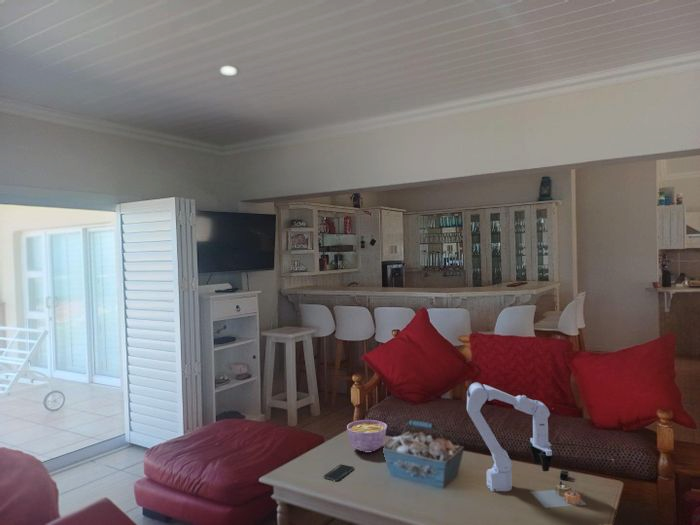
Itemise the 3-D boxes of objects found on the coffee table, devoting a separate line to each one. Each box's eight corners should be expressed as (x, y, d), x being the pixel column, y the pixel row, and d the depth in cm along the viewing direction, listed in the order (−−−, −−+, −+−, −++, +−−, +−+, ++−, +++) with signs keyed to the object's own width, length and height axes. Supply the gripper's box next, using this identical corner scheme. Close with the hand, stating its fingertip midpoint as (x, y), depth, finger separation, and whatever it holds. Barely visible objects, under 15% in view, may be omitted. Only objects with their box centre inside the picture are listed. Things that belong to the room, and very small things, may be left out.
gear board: (545, 511, 191) (545, 499, 191) (530, 495, 204) (529, 484, 204) (586, 508, 192) (586, 496, 192) (568, 492, 205) (568, 481, 205)
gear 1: (560, 497, 198) (560, 487, 198) (553, 490, 204) (553, 481, 204) (573, 496, 199) (573, 486, 199) (566, 489, 204) (566, 480, 204)
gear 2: (568, 505, 192) (568, 497, 192) (561, 498, 198) (561, 491, 198) (583, 504, 193) (582, 496, 193) (575, 497, 198) (575, 490, 198)
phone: (322, 476, 225) (340, 464, 238) (322, 479, 225) (340, 466, 238) (338, 480, 221) (355, 467, 234) (338, 482, 221) (355, 469, 234)
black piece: (572, 491, 208) (571, 479, 208) (552, 487, 212) (552, 476, 211) (575, 478, 219) (575, 468, 219) (557, 475, 222) (556, 465, 222)
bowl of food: (395, 447, 258) (394, 424, 258) (372, 460, 243) (371, 436, 242) (363, 439, 271) (362, 417, 271) (339, 451, 255) (338, 428, 255)
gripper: (559, 438, 200) (559, 473, 200) (541, 426, 214) (542, 459, 214) (541, 439, 199) (542, 475, 199) (525, 427, 214) (526, 460, 214)
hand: (541, 466), depth 207 cm, fingers open, 7 cm apart
